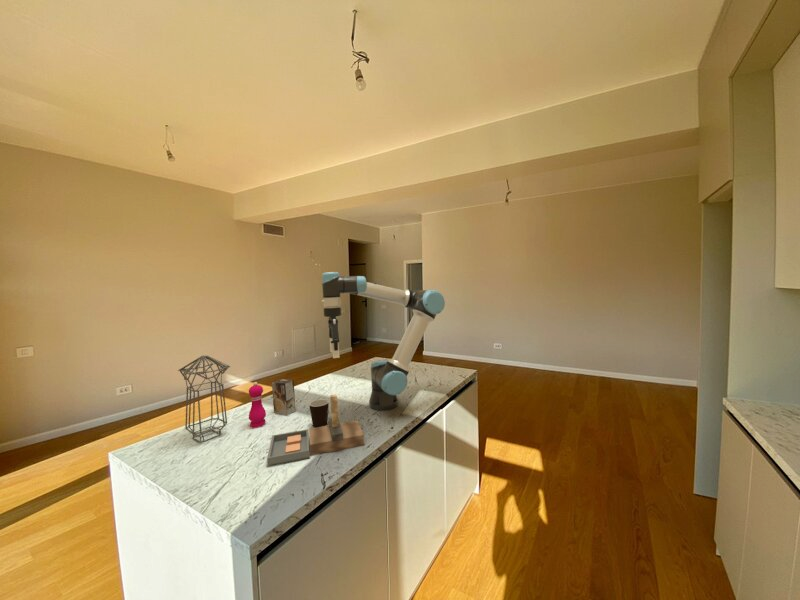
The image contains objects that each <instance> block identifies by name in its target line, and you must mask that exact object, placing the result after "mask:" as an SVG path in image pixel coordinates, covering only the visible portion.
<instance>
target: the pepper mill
mask: <svg viewBox="0 0 800 600" xmlns="http://www.w3.org/2000/svg"><path fill="white" fill-rule="evenodd" d="M263 393H264V388H263V386H262V385H260V384H259V383H258V382H257V381H254V382H253V384H252V385H251V386H250V387H249V389H248V395H249V396H250V401H251V406H250V410H249V412H248V413H249V414H248V420H249V421H250V422H249V423H250V424H249V425H250V428H252V429H253V428H254V429H255V428H261V427H263V426H264V425H265V424H266V419H265V418H266V416H267V412H266V410H265V407H264V405H263V402H262V399H263V395H262V394H263Z"/></svg>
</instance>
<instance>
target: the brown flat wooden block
mask: <svg viewBox="0 0 800 600" xmlns="http://www.w3.org/2000/svg"><path fill="white" fill-rule="evenodd" d="M340 425H341V428H342V432H343V440H340V441H334V442H332V437H331V432H330V427H329V424H327V425H326V426H322V427H316V428H315V427H312V428H309V429H308V430H309V455H310V456H315V455H320V454H324V453H331V452H335V451H340V450H341V451H342V450H345V449H350V448H355V447H360V446H365V437H364V432H363V429H362V428H361V425H360V423H359V420H353V421H346V422H345V421H344V422H340Z"/></svg>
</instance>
